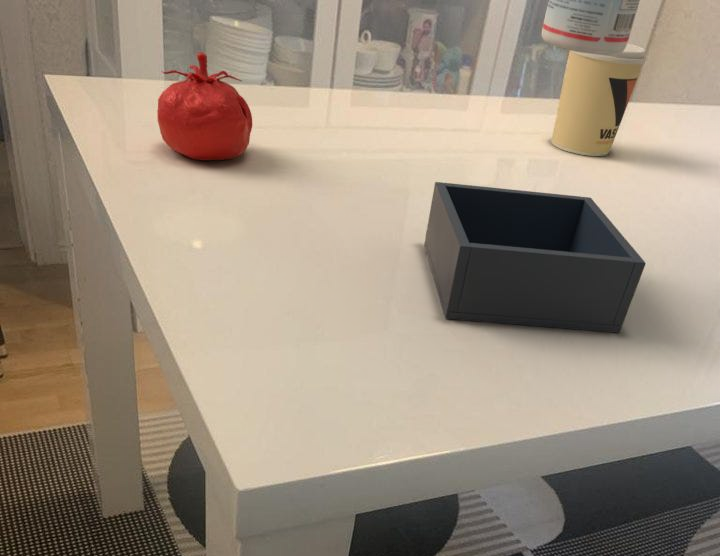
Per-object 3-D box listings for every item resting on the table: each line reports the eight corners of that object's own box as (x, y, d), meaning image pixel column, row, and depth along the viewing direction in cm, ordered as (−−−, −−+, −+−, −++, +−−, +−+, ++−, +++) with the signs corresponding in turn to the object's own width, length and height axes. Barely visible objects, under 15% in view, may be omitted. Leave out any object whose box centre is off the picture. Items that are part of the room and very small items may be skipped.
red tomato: (179, 171, 73) (174, 66, 67) (143, 141, 79) (136, 42, 73) (269, 165, 77) (272, 66, 72) (228, 136, 84) (228, 43, 78)
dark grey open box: (571, 259, 67) (590, 197, 63) (620, 333, 56) (646, 263, 53) (423, 246, 65) (435, 181, 61) (445, 318, 55) (460, 245, 51)
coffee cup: (603, 163, 93) (636, 55, 85) (534, 144, 96) (561, 39, 89) (623, 149, 100) (656, 48, 92) (558, 132, 103) (585, 33, 95)
